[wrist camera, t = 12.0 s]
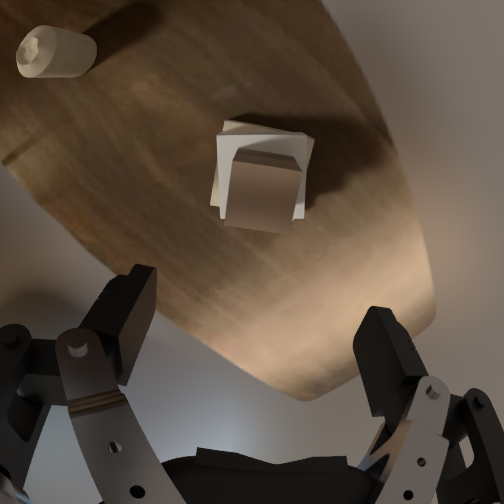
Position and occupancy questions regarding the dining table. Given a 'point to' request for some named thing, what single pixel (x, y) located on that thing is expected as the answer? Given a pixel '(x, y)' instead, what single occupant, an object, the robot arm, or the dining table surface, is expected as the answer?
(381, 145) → the dining table surface
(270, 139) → the slab upper
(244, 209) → the walnut block
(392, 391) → the robot arm
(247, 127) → the slab lower
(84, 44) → the candle
